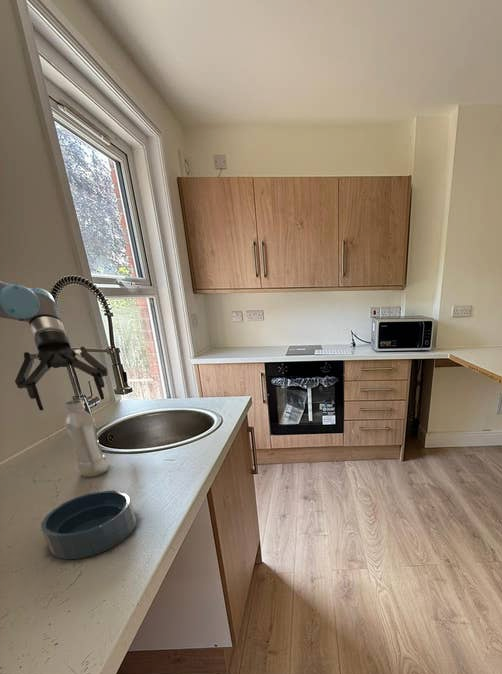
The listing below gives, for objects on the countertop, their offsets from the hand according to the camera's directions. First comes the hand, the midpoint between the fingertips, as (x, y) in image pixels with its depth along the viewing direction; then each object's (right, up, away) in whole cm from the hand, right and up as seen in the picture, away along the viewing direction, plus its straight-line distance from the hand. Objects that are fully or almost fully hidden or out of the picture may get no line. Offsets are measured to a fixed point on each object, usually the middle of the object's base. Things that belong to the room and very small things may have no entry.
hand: (72, 402), depth 92 cm
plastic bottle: (+6, -19, +1) cm, 20 cm away
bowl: (+21, -29, -23) cm, 42 cm away
